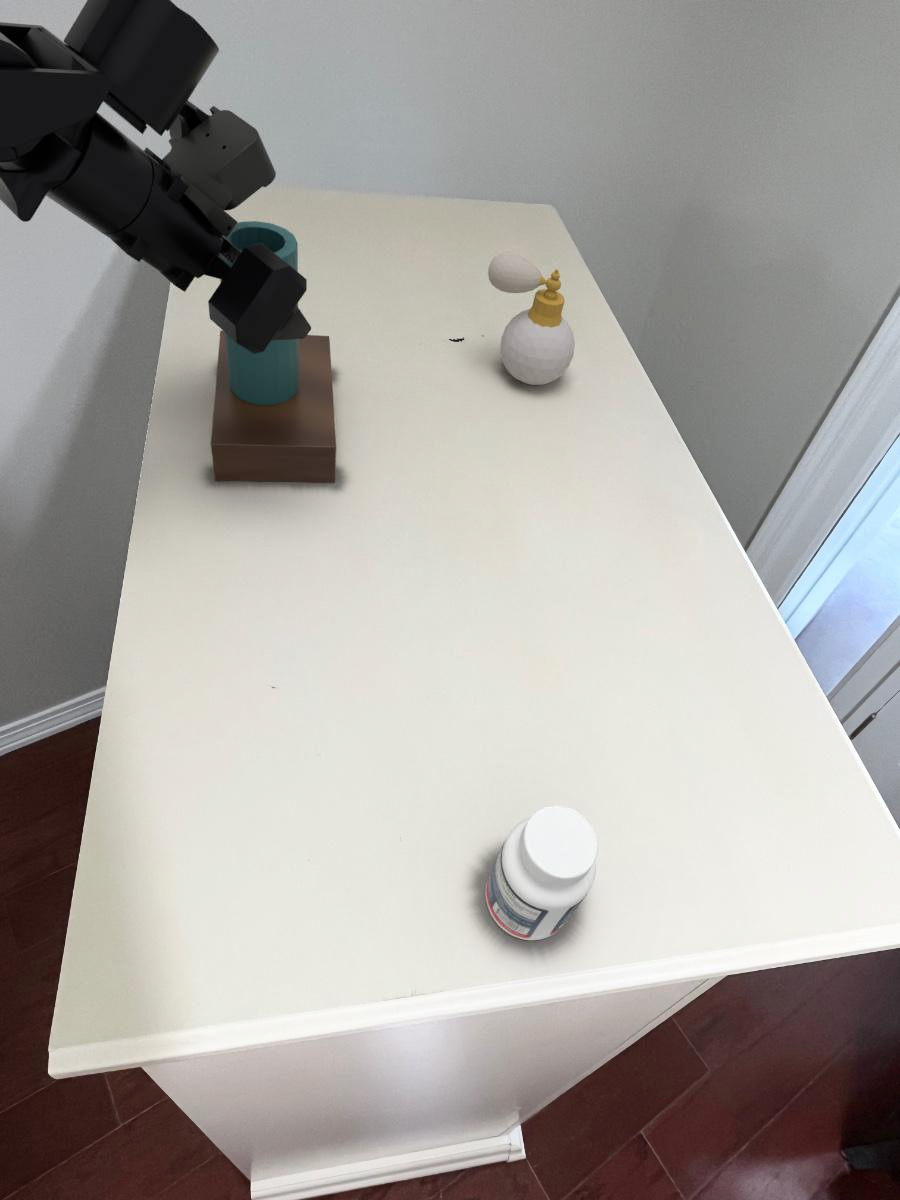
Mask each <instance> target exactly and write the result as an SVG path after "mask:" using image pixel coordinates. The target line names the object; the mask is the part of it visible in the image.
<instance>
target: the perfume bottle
mask: <svg viewBox="0 0 900 1200" xmlns="http://www.w3.org/2000/svg"><path fill="white" fill-rule="evenodd" d="M559 272H560V270H559V269H558V268H554V271H553V272H551V274H550V277H549V278H547V279H546V278H544V276H543V274H542V273H541V271H540V269H539V268H538V267H537V266H536V265H535V264H534V263H533V262H532V261H530V260H529V259H527V258H526V257H525V256H522V255H520V254H518V253H514V252H501V253H498V254H497V255H495V256H494V257H493V258H492V260H490V263H489V265H488V271H487V277H488V280H489V282H490V284H491V285H492V286H493V287H494V288H495V289H496V290H499V292H503V293H506V294H507V293H508V294H523V293H524V294H525V293H528V292H532V291H533V290H536V289H537V288H540V287H541V286H543V285H545V288H541V289H538V290H537V291H536V292H535V293H534V298H533V302H532V306H531V307H530V308H527V309H525V310H522V311H521V312H519V313H517V314H516V315H515V316H513V317H512V318H511V319H510V320H509V322H508V323H507V325H506V326H505V327H504V330H503V333H502V335H501V338H500V347H499V348H500V349H499V351H500V357H501V360H502V363H503V365H504V368H506V369H505V370H506V371H507V372H508V373H509V374H510V375H511V376H512V377H513V378H514V379H516V380H518V381H520V382H522V383H524V384H527V385H532V386H539V385H541V386H542V385H546V384H549V383H551V382H554V381H555V380H557V379H559V378H560V377H562V375H563V374H564V373H565V372H566V370H567V369H568V368H569V367H570V366H571V365H570V364H571V362H572V360H573V358H574V354H575V346H576V341H575V337H574V332H573V330H572V328H571V326H570V324H569V322H568V321H567V320H566V319H565V318H564V317H563V316H562V313H563V309H564V305H565V296H564V295H563V294H562V293H560V292H559V290H560V289H561V287H562V282H561V281H560V278H561V274H560V273H559Z"/></svg>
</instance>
